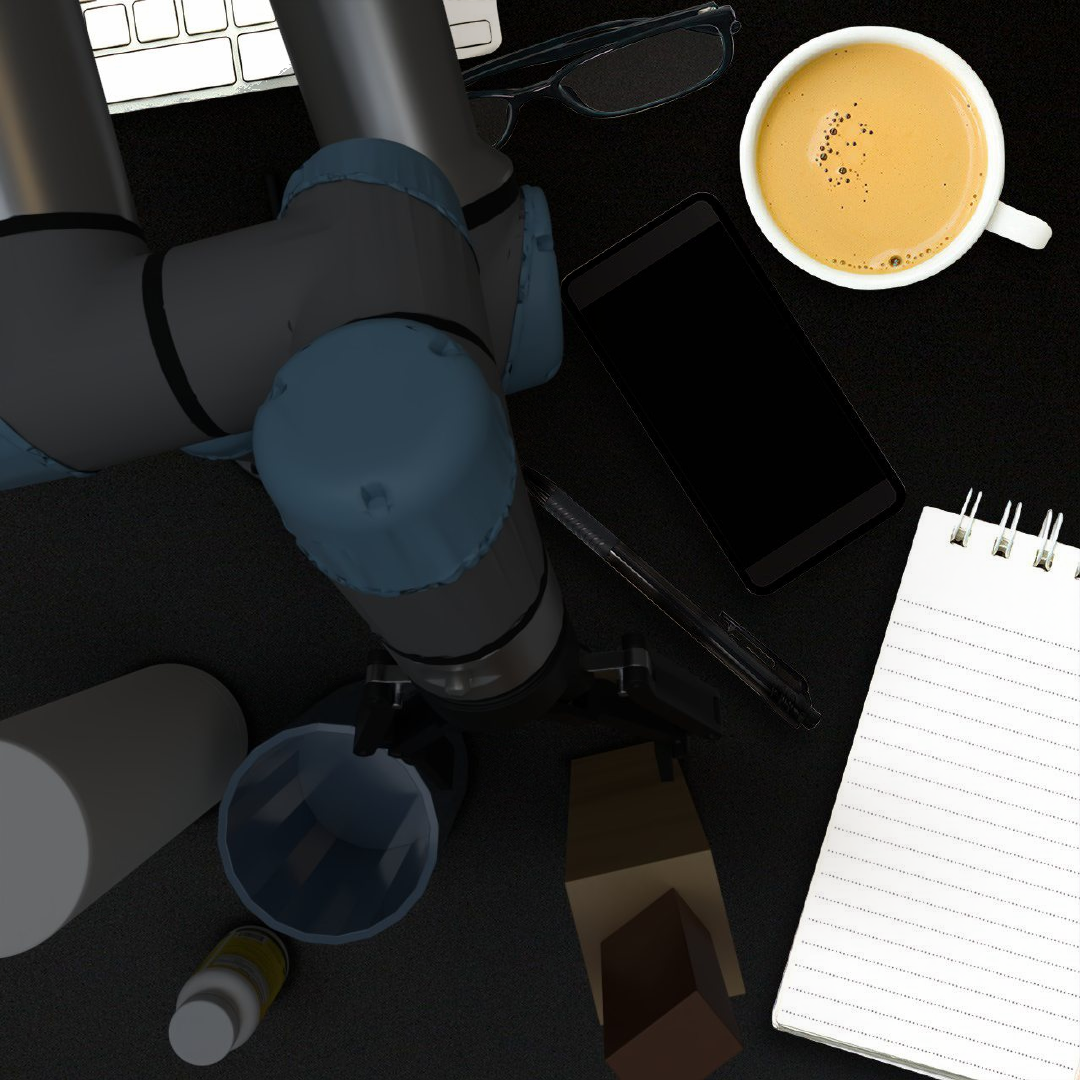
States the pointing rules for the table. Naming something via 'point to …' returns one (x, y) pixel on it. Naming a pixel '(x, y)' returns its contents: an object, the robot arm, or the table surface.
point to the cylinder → (105, 789)
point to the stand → (637, 855)
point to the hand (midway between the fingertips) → (555, 764)
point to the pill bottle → (228, 995)
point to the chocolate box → (665, 997)
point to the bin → (333, 827)
